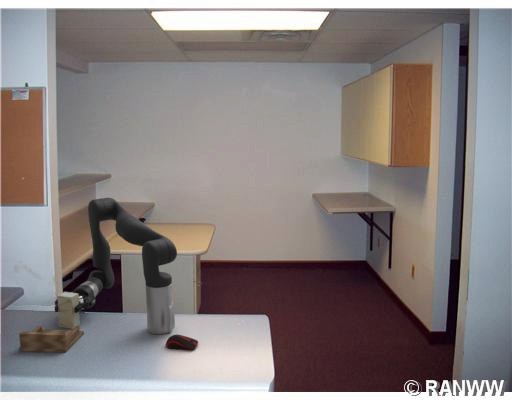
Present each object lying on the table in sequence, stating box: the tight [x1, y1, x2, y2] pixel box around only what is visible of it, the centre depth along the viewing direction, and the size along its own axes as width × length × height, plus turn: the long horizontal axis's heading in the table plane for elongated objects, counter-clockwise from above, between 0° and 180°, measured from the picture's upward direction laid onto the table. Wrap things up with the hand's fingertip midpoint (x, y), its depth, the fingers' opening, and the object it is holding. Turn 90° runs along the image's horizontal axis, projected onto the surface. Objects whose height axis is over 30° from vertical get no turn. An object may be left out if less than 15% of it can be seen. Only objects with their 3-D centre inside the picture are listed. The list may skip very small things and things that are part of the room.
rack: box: [18, 325, 85, 353], centre depth 170 cm, size 16×14×6 cm
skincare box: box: [57, 291, 81, 330], centre depth 182 cm, size 6×4×12 cm
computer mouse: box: [165, 334, 199, 351], centre depth 167 cm, size 6×11×4 cm, turn 79°
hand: (65, 310), depth 180 cm, fingers closed on skincare box, 6 cm apart
